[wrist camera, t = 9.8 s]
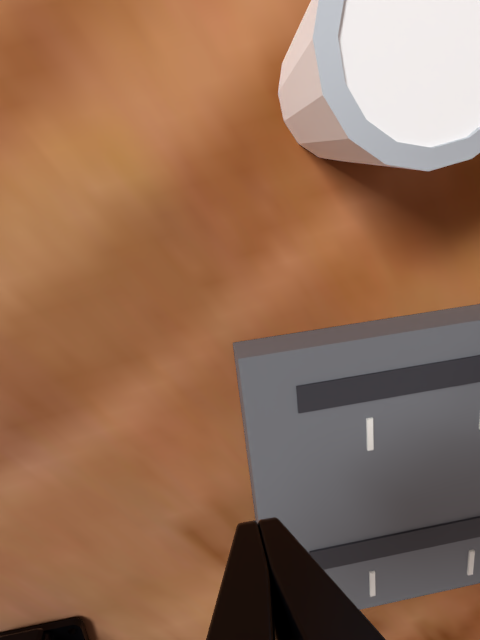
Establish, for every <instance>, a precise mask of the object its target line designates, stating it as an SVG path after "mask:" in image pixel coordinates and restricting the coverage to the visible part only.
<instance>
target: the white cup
mask: <svg viewBox="0 0 480 640" xmlns="http://www.w3.org/2000/svg"><path fill="white" fill-rule="evenodd" d="M278 95H279V100H280V105H281V110H282V115H283V119H284V122H285V124H286V125H287V127H288V128H289V130H290V132H291V133H292V135H293V136H294V138H295V139H296V141H297V142H298V144H299V145H301V146H302V147H304V148H305V149H307V150H308V151H310V152H311V153H313V154H314V155H316V156H317V157H319V158H324V159H331V160H337V161H344V162H352V163H361V164H369V165H378V166H387V167H395V168H404V169H412V170H421V171H432V170H435V169H438V168H442V167H445V166H449V165H452V164H456V163H459V162H463V161H466V160H470V159H472V158H473V157H475V156H476V155H477V154H479V153H480V0H311V2H310V4H309V6H308V8H307V10H306V13H305V15H304V17H303V19H302V21H301V23H300V26H299V28H298V30H297V32H296V34H295V36H294V39H293V41H292V43H291V45H290V47H289V49H288V52H287V54H286V56H285V58H284V60H283V62H282V68H281V75H280V82H279V89H278Z"/></svg>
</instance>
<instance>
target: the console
mask: <svg viewBox="0 0 480 640" xmlns="http://www.w3.org/2000/svg"><path fill="white" fill-rule="evenodd" d="M233 348H234V356H235V364H236V371H237V379H238V387H239V395H240V402H241V410H242V418H243V426H244V433H245V441H246V449H247V456H248V464H249V472H250V480H251V487H252V495H253V503H254V510H255V518H256V522H257V523H258V521H259V520H261V519H266V518H272V517H276V518H278V519H279V520H280V521H281V522H282V523H283V524H284V526H285V527H286V528H287V529H288V530H289V531H290V532H291V533H292V535H293V536H294V537H295V538H296V539H297V540H298V541H299V542H300V544H301V545H302V546H303V547H304V548H305V549H306V550H307V551H308V553H309V554H310V555H311V556H312V557H313V558H314V559H315V561H316V562H317V563H318V564H319V565H320V566H321V567H322V568H323V570H324V571H325V572H326V573H327V574H328V575H329V576H330V577H331V579H332V580H333V581H334V582H335V583H336V584H337V585H338V586H339V588H340V589H341V590H342V591H343V592H344V593H345V594H346V595H347V597H348V598H349V599H350V600H351V601H352V602H353V603H354V605H355V606H356V607H357V608H358V609H359V610H360V609H365V608H369V607H374V606H378V605H383V604H387V603H392V602H396V601H401V600H405V599H410V598H414V597H419V596H424V595H428V594H433V593H437V592H442V591H446V590H451V589H455V588H460V587H464V586H469V585H473V584H478V583H480V304H477V305H471V306H464V307H458V308H452V309H445V310H439V311H433V312H426V313H420V314H413V315H407V316H401V317H394V318H388V319H381V320H375V321H369V322H362V323H356V324H350V325H343V326H337V327H330V328H324V329H318V330H311V331H305V332H299V333H292V334H286V335H279V336H273V337H267V338H260V339H254V340H248V341H241V342H235V343H233Z"/></svg>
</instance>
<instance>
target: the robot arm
mask: <svg viewBox="0 0 480 640" xmlns="http://www.w3.org/2000/svg"><path fill="white" fill-rule="evenodd" d="M275 637H276V638H275ZM0 640H89V638H88V635H87V632H86V629H85V626H84V623H83V621H82V620H80V619H78V618H71V619H66V620H62V621H57V622H52V623H47V624H43V625H38V626H33V627H28V628H23V629H19V630H14V631H9V632H4V633H0ZM206 640H385V638H384V637H383V636H382V635H381V634H380V633H379V632H378V630H377V629H376V628H375V627H374V626H373V625H372V624H371V623H370V621H369V620H368V619H367V618H366V617H365V616H364V615H363V614H362V612H361V611H360V610H359V609H358V608H357V607H356V606H355V605H354V603H353V602H352V601H351V600H350V599H349V598H348V597H347V595H346V594H345V593H344V592H343V591H342V590H341V589H340V588H339V586H338V585H337V584H336V583H335V582H334V581H333V580H332V579H331V577H330V576H329V575H328V574H327V573H326V572H325V571H324V570H323V568H322V567H321V566H320V565H319V564H318V563H317V562H316V561H315V559H314V558H313V557H312V556H311V555H310V554H309V553H308V551H307V550H306V549H305V548H304V547H303V546H302V545H301V544H300V542H299V541H298V540H297V539H296V538H295V537H294V536H293V535H292V533H291V532H290V531H289V530H288V529H287V528H286V527H285V526H284V524H283V523H282V522H281V521H280V520H279V519H278V518H276V517H272V518H266V519H261V520H259V521H258V523H257V522H256V521H249V522H243V523H239V524H238V526H237V528H236V532H235V535H234V539H233V543H232V546H231V550H230V554H229V557H228V561H227V565H226V568H225V572H224V576H223V579H222V583H221V587H220V590H219V594H218V598H217V601H216V605H215V609H214V613H213V616H212V620H211V624H210V627H209V631H208V635H207V638H206Z"/></svg>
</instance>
